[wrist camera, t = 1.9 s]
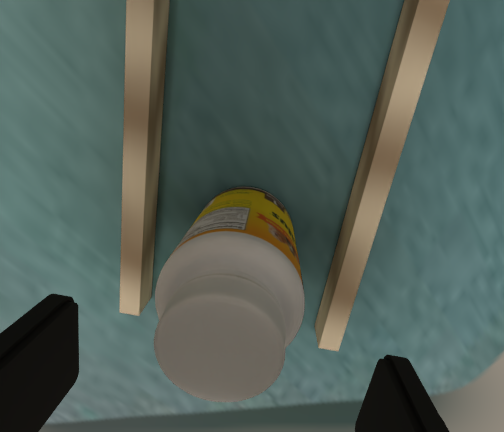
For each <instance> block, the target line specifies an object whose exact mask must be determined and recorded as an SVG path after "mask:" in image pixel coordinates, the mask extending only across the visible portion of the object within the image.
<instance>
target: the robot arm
mask: <svg viewBox="0 0 504 432" xmlns="http://www.w3.org/2000/svg"><path fill="white" fill-rule="evenodd" d="M78 374H79V339H78V305H77V303H74V300H73V298H72V297H69V296H63V295H58V294H50V295H49V296H47V297H46V298H45V299H43V300H42V301H41V302H40V303H38V304H37V305H36V306H34V307H33V308H32V309H31V310H29V311H28V312H27V313H26V314H24V315H23V316H22V317H21V318H19V319H18V320H17V321H16V322H14V323H13V324H12V325H10V326H9V327H8V328H7V329H5V330H4V331H3V332H2V333H0V432H38V431H39V430H40V429H41V427H42V426H43V425H44V424H45V422H46V421H47V420H48V418H49V417H50V416H51V414H52V413H53V412H54V410H55V409H56V408H57V406H58V405H59V404H60V402H61V401H62V399H63V398H64V397H65V395H66V394H67V393H68V391H69V390H70V389H71V387H72V386H73V385H74V383H75V382H76V380H77V377H78ZM355 432H449V430H448V428H447V427H446V425H445V423H444V421H443V420H442V418H441V417H440V415H439V414H438V412H437V410H436V408H435V407H434V405H433V403H432V401H431V399H430V397H429V396H428V394H427V392H426V390H425V388H424V387H423V385H422V383H421V381H420V379H419V377H418V376H417V374H416V372H415V370H414V368H413V366H412V365H411V363H410V361H409V360H408V359H407V358H403V357H398V356H392V355H386V356H385V357H384V359H379V360H378V362H377V365H376V368H375V371H374V373H373V376H372V379H371V382H370V384H369V387H368V390H367V393H366V396H365V398H364V401H363V404H362V407H361V410H360V412H359V415H358V418H357V421H356V426H355Z"/></svg>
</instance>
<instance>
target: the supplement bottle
mask: <svg viewBox="0 0 504 432" xmlns="http://www.w3.org/2000/svg"><path fill="white" fill-rule="evenodd" d="M155 305H156V310H157V314H158V317H159V320H160V321H159V323H158V325H157V328H156V331H155V336H154V350H155V355H156V358H157V361H158V363H159V365H160V367H161V369H162V370H163V372H164V373H165V375H166V376H167V377H168V378H169V379H170V380H171V381H172V382H173V383H174V384H175V385H176V386H178V387H179V388H181V389H182V390H184V391H185V392H187V393H189V394H191V395H193V396H196V397H198V398H201V399H204V400H209V401H214V402H236V401H242V400H246V399H249V398H251V397H254V396H256V395H258V394H260V393H262V392H263V391H265V390H266V389H267V388H268V387H270V386H271V385H272V384H273V383H274V381H275V380H276V379H277V378H278V376H279V374H280V372H281V370H282V368H283V364H284V360H285V348H286V347H287V346H288V345H289V344H290V343H291V341H292V340H293V339H294V337H295V336H296V334H297V332H298V330H299V328H300V326H301V323H302V320H303V315H304V307H305V300H304V288H303V282H302V276H301V270H300V264H299V258H298V253H297V247H296V242H295V236H294V230H293V225H292V221H291V218H290V216H289V214H288V212H287V210H286V208H285V207H284V206H283V204H282V203H281V202H280V201H279V200H278V199H277V198H275V197H274V196H273V195H271V194H270V193H268V192H266V191H264V190H261V189H258V188H253V187H236V188H231V189H228V190H226V191H223V192H221V193H220V194H218V195H217V196H215V197H214V198H213V199H212V200H211V201H210V202H209V203H208V204H207V205H206V207H205V208H204V209H203V211H202V212H201V213H200V215H199V216H198V217H197V219H196V220H195V222H194V223H193V225H192V226H191V227H190V229H189V230H188V232H187V233H186V234H185V236H184V237H183V239H182V240H181V242H180V243H179V244H178V246H177V247H176V248H175V250H174V251H173V253H172V254H171V256H170V257H169V258H168V260H167V261H166V263H165V265H164V267H163V268H162V270H161V272H160V275H159V277H158V281H157V285H156V290H155Z"/></svg>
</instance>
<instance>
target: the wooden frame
mask: <svg viewBox="0 0 504 432" xmlns="http://www.w3.org/2000/svg"><path fill="white" fill-rule="evenodd" d="M449 1H450V0H404V4H403V7H402V11H401V15H400V18H399V22H398V25H397V29H396V33H395V36H394V40H393V44H392V47H391V51H390V54H389V58H388V62H387V65H386V69H385V73H384V76H383V80H382V83H381V87H380V91H379V94H378V98H377V102H376V105H375V109H374V112H373V116H372V120H371V123H370V127H369V130H368V134H367V138H366V141H365V145H364V149H363V152H362V156H361V159H360V163H359V167H358V170H357V174H356V178H355V181H354V185H353V188H352V192H351V196H350V199H349V203H348V207H347V210H346V214H345V217H344V221H343V225H342V228H341V232H340V236H339V239H338V243H337V246H336V250H335V254H334V257H333V261H332V264H331V268H330V272H329V275H328V279H327V283H326V286H325V290H324V293H323V297H322V301H321V304H320V308H319V312H318V315H317V319H316V322H315V331H316V337H317V342H318V348H322V349H328V350H334V351H339V347H340V344H341V341H342V338H343V335H344V332H345V329H346V325H347V322H348V319H349V316H350V313H351V310H352V306H353V303H354V300H355V297H356V294H357V291H358V288H359V284H360V281H361V278H362V275H363V272H364V269H365V266H366V262H367V259H368V256H369V253H370V250H371V247H372V243H373V240H374V237H375V234H376V231H377V228H378V225H379V221H380V218H381V215H382V212H383V209H384V206H385V203H386V199H387V196H388V193H389V190H390V187H391V184H392V180H393V177H394V174H395V171H396V168H397V165H398V162H399V158H400V155H401V152H402V149H403V146H404V143H405V140H406V136H407V133H408V130H409V127H410V124H411V121H412V118H413V114H414V111H415V108H416V105H417V102H418V99H419V95H420V92H421V89H422V86H423V83H424V80H425V77H426V73H427V70H428V67H429V64H430V61H431V58H432V55H433V51H434V48H435V45H436V42H437V39H438V36H439V32H440V29H441V26H442V23H443V20H444V17H445V14H446V10H447V7H448V4H449ZM168 17H169V0H127V2H126V47H125V92H124V137H123V182H122V228H121V273H120V313H126V314H131V315H137V316H139V315H140V314H141V312H142V311H143V309H144V308H145V306H146V304H147V303H148V301H149V300H150V298H151V293H152V277H153V261H154V245H155V228H156V212H157V196H158V179H159V163H160V147H161V131H162V114H163V98H164V82H165V66H166V49H167V33H168Z"/></svg>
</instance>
